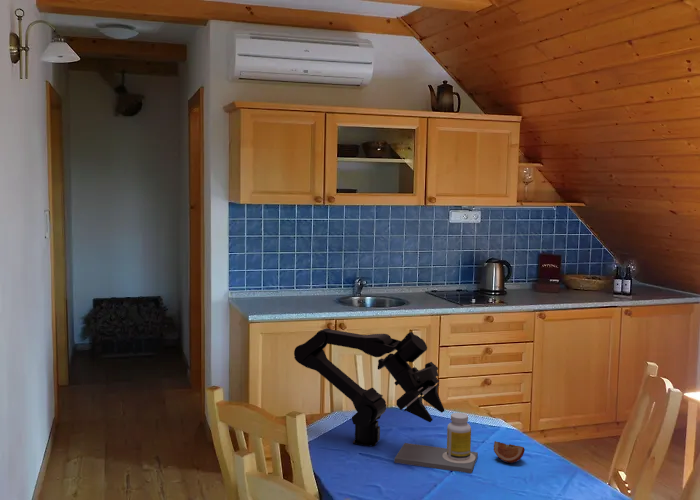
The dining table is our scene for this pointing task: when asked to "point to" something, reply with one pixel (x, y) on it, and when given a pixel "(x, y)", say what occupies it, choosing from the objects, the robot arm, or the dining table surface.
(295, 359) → the robot arm
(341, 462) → the dining table surface
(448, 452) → the pill bottle
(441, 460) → the panel board
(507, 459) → the fruit slice
